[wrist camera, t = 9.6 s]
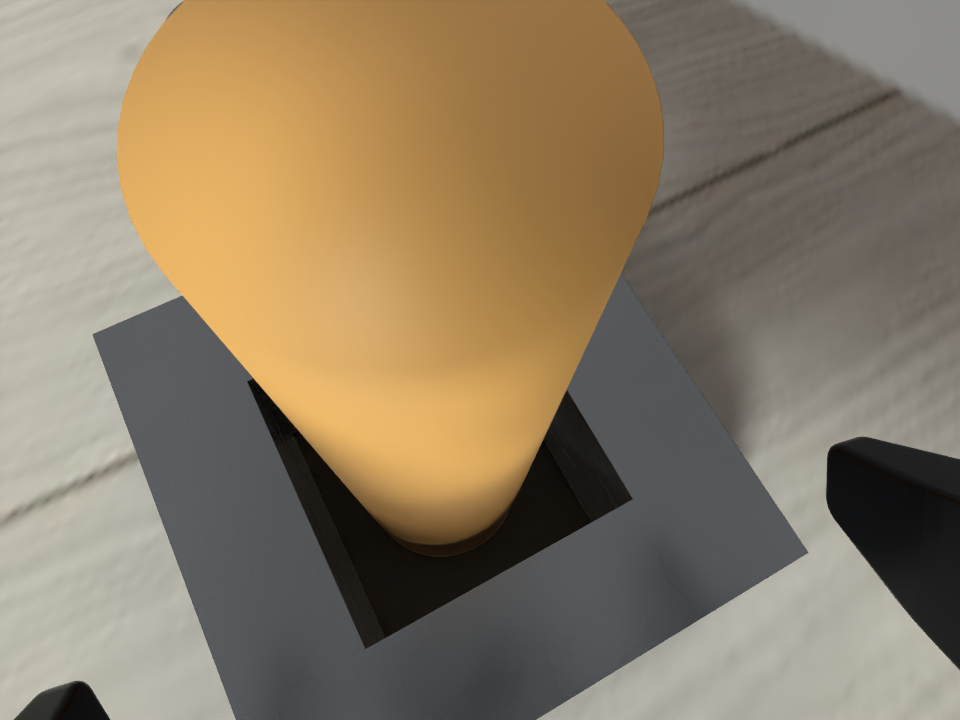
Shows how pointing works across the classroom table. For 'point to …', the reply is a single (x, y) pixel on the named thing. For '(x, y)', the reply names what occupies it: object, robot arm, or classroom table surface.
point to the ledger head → (481, 611)
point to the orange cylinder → (398, 223)
